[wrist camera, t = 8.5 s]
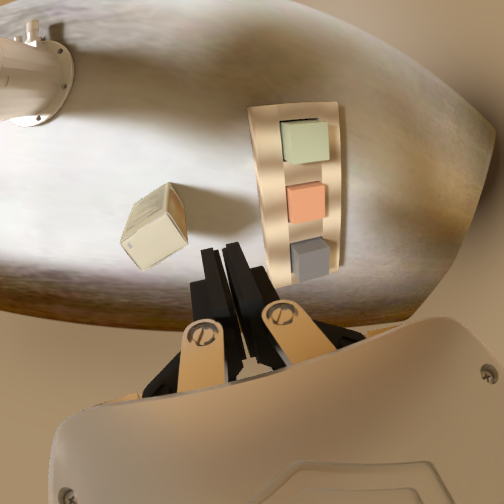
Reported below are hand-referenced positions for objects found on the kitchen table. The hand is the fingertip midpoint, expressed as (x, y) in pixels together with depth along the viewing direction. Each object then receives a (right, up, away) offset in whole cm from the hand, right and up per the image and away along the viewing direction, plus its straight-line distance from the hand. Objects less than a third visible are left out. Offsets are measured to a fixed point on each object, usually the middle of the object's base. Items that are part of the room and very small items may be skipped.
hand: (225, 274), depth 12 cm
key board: (+8, +10, +29) cm, 32 cm away
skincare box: (-12, +8, +25) cm, 28 cm away
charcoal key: (+10, +1, +32) cm, 33 cm away
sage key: (+7, +16, +22) cm, 29 cm away
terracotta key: (+8, +9, +29) cm, 31 cm away
